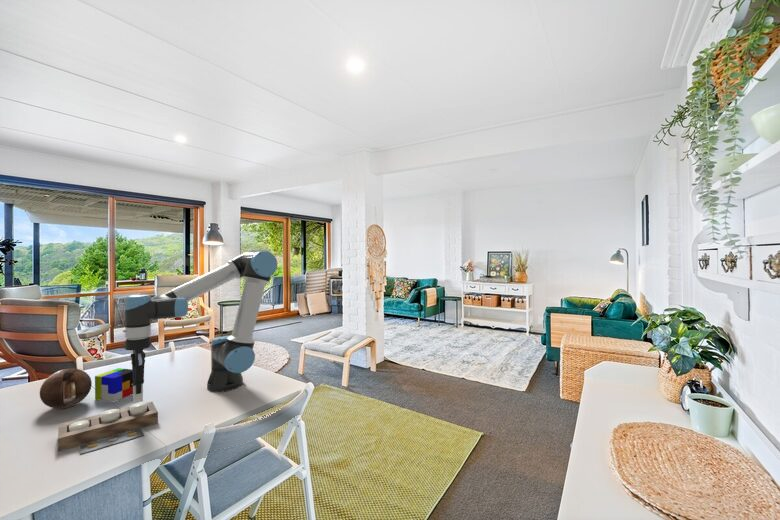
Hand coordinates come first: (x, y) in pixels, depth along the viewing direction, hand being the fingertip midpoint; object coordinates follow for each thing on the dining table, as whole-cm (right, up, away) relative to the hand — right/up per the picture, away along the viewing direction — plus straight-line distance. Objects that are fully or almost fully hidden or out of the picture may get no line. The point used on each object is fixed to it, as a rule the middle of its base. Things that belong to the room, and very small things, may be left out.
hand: (137, 401), depth 123 cm
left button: (-12, -7, -11) cm, 17 cm away
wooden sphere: (-37, -7, +12) cm, 40 cm away
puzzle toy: (-26, -7, +22) cm, 35 cm away
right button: (0, -5, 0) cm, 5 cm away
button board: (-3, -8, -8) cm, 11 cm away
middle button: (-6, -5, -5) cm, 9 cm away
